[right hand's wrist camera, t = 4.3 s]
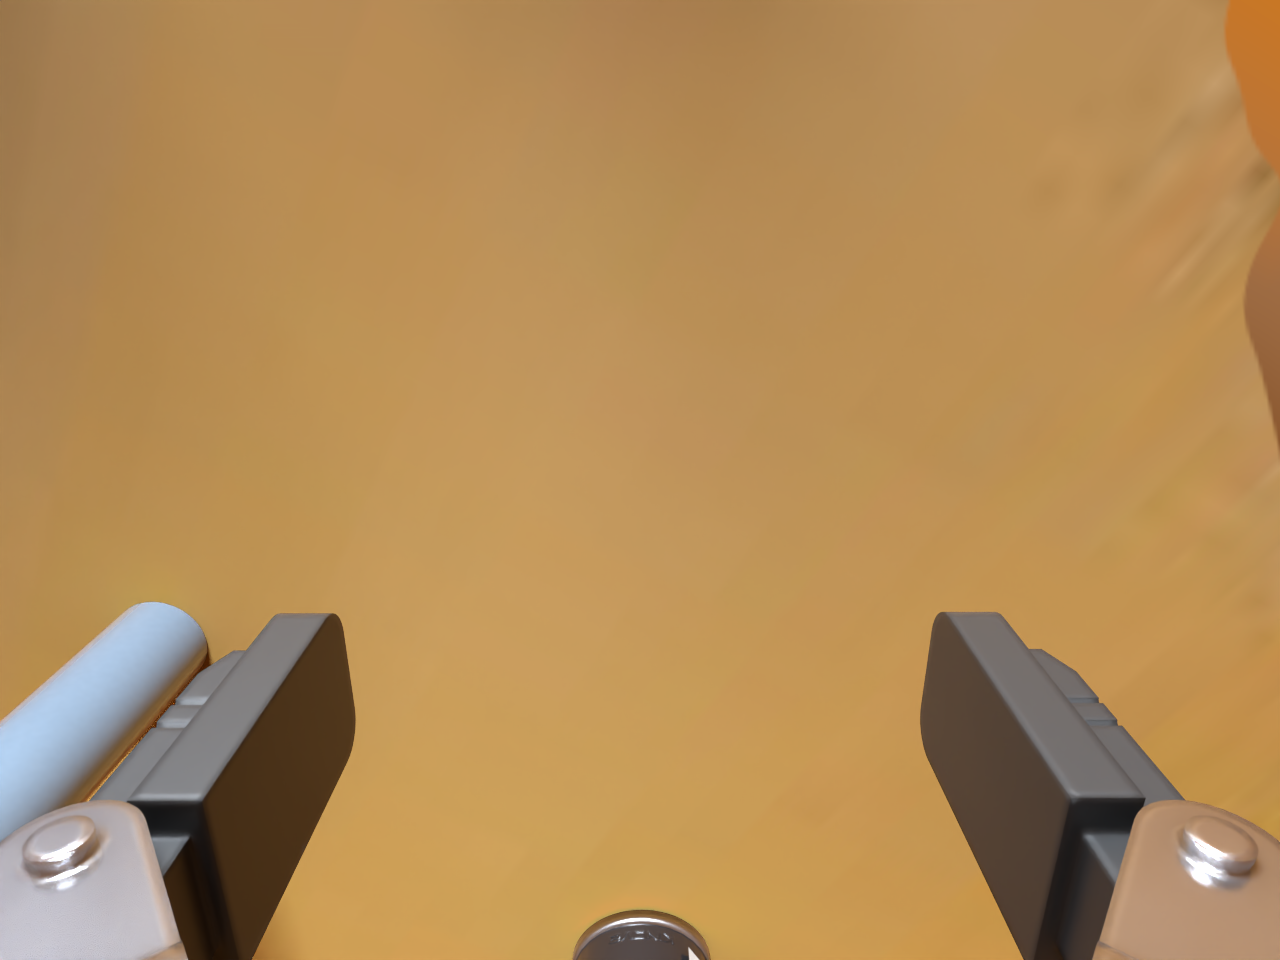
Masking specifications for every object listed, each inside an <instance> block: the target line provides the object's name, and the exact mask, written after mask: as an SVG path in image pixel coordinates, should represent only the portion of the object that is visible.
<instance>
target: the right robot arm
mask: <svg viewBox="0 0 1280 960" xmlns="http://www.w3.org/2000/svg"><path fill="white" fill-rule="evenodd" d="M1098 699H1099V698H1098V697H1097V696H1096V694H1095V693H1094V692H1093V691H1092V690H1091V688H1090V687H1089V686H1088V685H1087V684H1086V683H1085V681H1084V680H1083V679H1082V678H1081V677H1080V675H1079V674H1078V673H1077V672H1076V671H1074V670H1073V669H1071V668H1070V667H1068V666H1067V665H1065V664H1064V663H1062V662H1061V661H1059V660H1057V659H1056V658H1054V657H1053V656H1051V655H1050V654H1048V653H1047V652H1045V651H1043V650H1042V649H1028V648H1027V647H1026V645H1025V644H1024V643H1023V641H1022V640H1021V639H1020V638H1019V636H1018V635H1017V634H1016V633H1015V631H1014V630H1013V629H1012V627H1011V626H1010V625H1009V624H1008V622H1007V621H1006V620H1005V619H1004V617H1003V616H1002V615H1001V614H999V613H997V612H941V613H939V614H938V615H937V616H936V618H935V620H934V623H933V628H932V633H931V641H930V648H929V655H928V662H927V669H926V676H925V683H924V690H923V697H922V704H921V713H920V725H921V735H922V741H923V746H924V750H925V753H926V756H927V758H928V760H929V762H930V765H931V767H932V769H933V771H934V773H935V775H936V777H937V779H938V781H939V783H940V785H941V788H942V790H943V792H944V794H945V796H946V798H947V800H948V802H949V804H950V806H951V808H952V811H953V813H954V815H955V817H956V819H957V821H958V823H959V825H960V827H961V829H962V831H963V834H964V836H965V838H966V840H967V842H968V844H969V846H970V848H971V850H972V852H973V854H974V857H975V859H976V861H977V863H978V865H979V867H980V869H981V871H982V873H983V875H984V877H985V880H986V882H987V884H988V886H989V888H990V890H991V892H992V894H993V896H994V898H995V901H996V903H997V905H998V907H999V909H1000V911H1001V913H1002V915H1003V917H1004V919H1005V921H1006V924H1007V926H1008V928H1009V930H1010V932H1011V934H1012V936H1013V938H1014V940H1015V942H1016V944H1017V947H1018V949H1019V951H1020V953H1021V955H1022V957H1023V959H1024V960H1280V842H1279V841H1278V840H1277V839H1275V838H1274V837H1273V836H1271V835H1270V834H1269V833H1267V832H1266V831H1265V830H1263V829H1261V828H1260V827H1258V826H1256V825H1255V824H1253V823H1251V822H1249V821H1247V820H1246V819H1244V818H1242V817H1240V816H1238V815H1235V814H1233V813H1230V812H1228V811H1226V810H1223V809H1220V808H1217V807H1214V806H1211V805H1207V804H1203V803H1198V802H1193V801H1186V800H1185V799H1184V798H1183V797H1182V796H1181V795H1180V794H1179V792H1178V791H1177V790H1176V789H1175V788H1174V786H1173V785H1172V784H1171V783H1170V782H1169V781H1168V779H1167V778H1166V777H1165V776H1164V775H1163V773H1162V772H1161V771H1160V770H1159V769H1158V768H1157V766H1156V765H1155V764H1154V763H1153V762H1152V760H1151V759H1150V758H1149V757H1148V756H1147V755H1146V753H1145V752H1144V751H1143V750H1142V749H1141V747H1140V746H1139V745H1138V744H1137V743H1136V742H1135V740H1134V739H1133V738H1132V737H1131V736H1130V735H1129V733H1128V732H1127V731H1126V730H1125V729H1124V727H1123V726H1118V724H1117V719H1116V718H1115V717H1114V716H1113V714H1112V713H1111V712H1110V711H1109V710H1108V709H1107V707H1106V706H1105V705H1104V704H1103V703H1099V701H1098ZM354 734H355V707H354V700H353V693H352V686H351V680H350V673H349V666H348V659H347V652H346V645H345V638H344V632H343V627H342V623H341V621H340V619H339V617H338V616H337V615H336V614H277V615H275V616H274V617H273V618H272V619H271V620H270V621H269V623H268V624H267V625H266V626H265V628H264V629H263V630H262V631H261V633H260V634H259V635H258V636H257V638H256V639H255V640H254V641H253V643H252V644H251V645H250V646H249V648H248V649H247V650H246V651H232V652H231V653H229V654H228V655H226V656H225V657H223V658H221V659H220V660H218V661H217V662H215V663H214V664H212V665H211V666H209V667H207V668H206V669H204V670H203V671H201V672H200V673H198V674H197V676H196V677H195V678H194V679H193V680H192V681H191V683H190V684H189V685H188V686H187V687H186V688H185V690H184V691H183V692H182V693H181V694H180V695H179V697H178V698H177V699H176V704H175V705H171V706H170V707H169V708H168V709H167V711H166V712H165V713H164V714H163V715H162V716H161V718H160V719H159V720H158V721H157V726H156V728H151V729H150V730H149V732H148V733H147V734H146V735H145V736H144V737H143V739H142V740H141V741H140V742H139V743H138V745H137V746H136V747H135V748H134V749H133V750H132V752H131V753H130V754H129V755H128V756H127V757H126V759H125V760H124V761H123V762H122V763H121V764H120V766H119V767H118V768H117V769H116V770H115V771H114V773H113V774H112V775H111V776H110V777H109V778H108V780H107V781H106V782H105V783H104V784H103V785H102V787H101V788H100V789H99V790H98V791H97V792H96V794H95V795H94V796H93V797H92V798H91V799H90V801H87V802H82V803H77V804H73V805H69V806H66V807H63V808H60V809H57V810H54V811H52V812H50V813H47V814H45V815H42V816H40V817H38V818H36V819H34V820H33V821H31V822H29V823H27V824H25V825H24V826H22V827H20V828H19V829H17V830H15V831H14V832H13V833H11V834H10V835H9V836H7V837H6V838H5V839H3V840H2V841H1V842H0V960H252V958H253V956H254V953H255V951H256V949H257V947H258V945H259V943H260V941H261V939H262V937H263V935H264V933H265V931H266V929H267V927H268V925H269V922H270V920H271V918H272V916H273V914H274V912H275V910H276V908H277V906H278V904H279V902H280V900H281V898H282V896H283V894H284V891H285V889H286V887H287V885H288V883H289V881H290V879H291V877H292V875H293V873H294V871H295V869H296V867H297V865H298V863H299V860H300V858H301V856H302V854H303V852H304V850H305V848H306V846H307V844H308V842H309V840H310V838H311V836H312V834H313V832H314V829H315V827H316V825H317V823H318V821H319V819H320V817H321V815H322V813H323V811H324V809H325V807H326V805H327V803H328V801H329V798H330V796H331V794H332V792H333V790H334V788H335V786H336V784H337V782H338V780H339V778H340V776H341V774H342V772H343V770H344V767H345V765H346V763H347V761H348V759H349V756H350V753H351V750H352V746H353V741H354ZM573 960H710V954H709V950H708V947H707V944H706V942H705V940H704V939H703V937H702V936H701V935H700V933H699V932H698V931H697V930H696V929H695V928H693V927H692V926H691V925H690V924H688V923H687V922H685V921H683V920H682V919H680V918H677V917H675V916H673V915H670V914H666V913H663V912H658V911H650V910H633V911H625V912H620V913H617V914H613V915H610V916H608V917H606V918H603V919H601V920H600V921H598V922H596V923H595V924H593V925H592V926H591V927H590V928H588V929H587V930H586V931H585V932H584V933H583V935H582V936H581V937H580V939H579V940H578V942H577V944H576V946H575V950H574V954H573Z"/></svg>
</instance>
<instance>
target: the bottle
mask: <svg viewBox="0 0 1280 960" xmlns="http://www.w3.org/2000/svg"><path fill="white" fill-rule="evenodd" d="M206 656H207V642H206V638H205V635H204V633H203V631H202V629H201V628H200V626H199V625H198V624H197V622H196V621H195V620H194V619H193V618H192V617H191V616H189V615H188V614H187V613H185V612H184V611H182V610H180V609H179V608H176V607H174V606H171V605H168V604H165V603H159V602H146V603H140V604H137V605H134V606H132V607H130V608H128V609H127V610H126V611H124V612H123V613H122V614H121V615H120V616H119V617H118V618H116V619H115V620H114V621H113V622H112V623H111V624H110V625H109V626H107V627H106V628H105V629H104V630H103V631H102V632H101V633H99V634H98V635H97V636H96V637H95V638H94V639H93V640H92V641H90V642H89V643H88V644H87V645H86V646H85V647H84V648H82V649H81V650H80V651H79V652H78V653H77V654H76V655H75V656H73V657H72V658H71V659H70V660H69V661H68V662H67V663H65V664H64V665H63V666H62V667H61V668H60V669H59V670H58V671H56V672H55V673H54V674H53V675H52V676H51V677H50V678H48V679H47V680H46V681H45V682H44V683H43V684H42V685H41V686H39V687H38V688H37V689H36V690H35V691H34V692H33V693H31V694H30V695H29V696H28V697H27V698H26V699H25V700H24V701H22V702H21V703H20V704H19V705H18V706H17V707H16V708H14V709H13V710H12V711H11V712H10V713H9V714H8V715H7V716H5V717H4V718H3V719H2V720H1V721H0V842H1V841H2V840H3V839H5V838H6V837H7V836H9V835H10V834H11V833H13V832H14V831H15V830H17V829H19V828H20V827H22V826H24V825H25V824H27V823H29V822H31V821H33V820H34V819H36V818H38V817H40V816H42V815H45V814H47V813H50V812H52V811H54V810H57V809H60V808H63V807H66V806H69V805H73V804H77V803H82V802H86V801H87V800H88V799H89V797H90V796H91V795H92V794H93V793H94V792H95V790H96V789H97V788H98V787H99V786H100V785H101V783H102V782H103V781H104V780H105V779H106V778H107V776H108V775H109V774H110V773H111V772H112V771H113V769H114V768H115V767H116V766H117V765H118V764H119V762H120V761H121V760H122V759H123V758H124V757H125V755H126V754H127V753H128V752H129V751H130V750H131V748H132V747H133V746H134V745H135V744H136V743H137V742H138V740H139V739H140V738H141V737H142V736H143V735H144V733H145V732H146V731H147V730H148V729H149V728H150V726H151V725H152V724H153V723H154V722H155V721H156V719H157V718H158V717H159V716H160V715H161V714H162V712H163V711H164V710H165V709H166V708H167V707H168V705H169V704H170V703H171V702H172V701H173V700H174V698H175V697H176V696H177V695H178V694H179V693H180V691H181V690H182V689H183V688H184V687H185V686H186V684H187V683H188V682H189V681H190V680H191V679H192V677H193V676H194V675H195V674H196V673H197V672H198V670H199V669H200V668H201V667H202V665H203V664H204V662H205V659H206Z"/></svg>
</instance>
